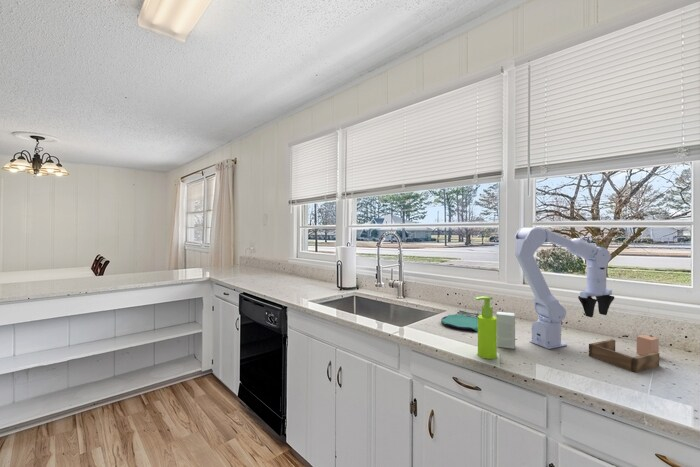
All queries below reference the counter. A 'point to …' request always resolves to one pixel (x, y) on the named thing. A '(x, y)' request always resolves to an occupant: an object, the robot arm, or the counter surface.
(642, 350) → the terracotta block
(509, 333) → the skincare box
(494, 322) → the soap dispenser
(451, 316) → the teal flat rounded piece
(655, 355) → the open-sided box
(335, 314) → the counter surface
